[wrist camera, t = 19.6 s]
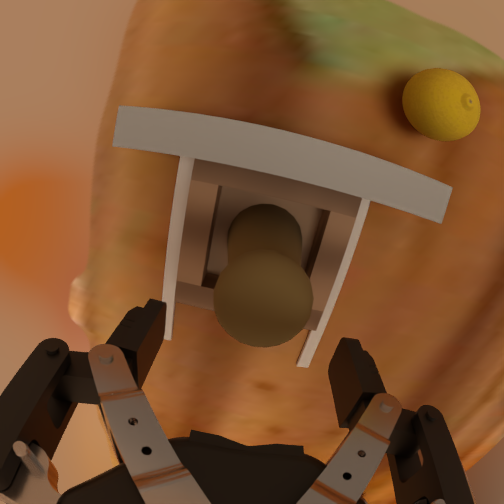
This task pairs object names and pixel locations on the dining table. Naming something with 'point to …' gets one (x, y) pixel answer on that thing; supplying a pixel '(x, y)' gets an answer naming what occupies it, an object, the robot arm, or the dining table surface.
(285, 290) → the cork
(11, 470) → the robot arm
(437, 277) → the dining table surface
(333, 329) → the dining table surface
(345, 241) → the socket block
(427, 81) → the lemon
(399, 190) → the backstop
